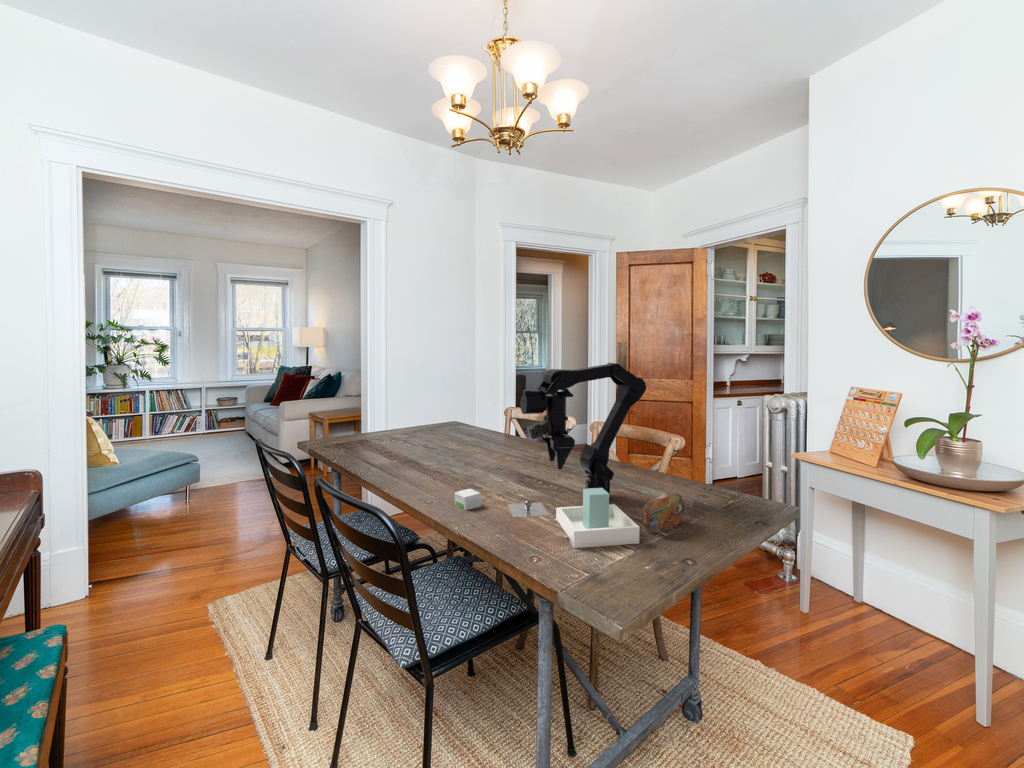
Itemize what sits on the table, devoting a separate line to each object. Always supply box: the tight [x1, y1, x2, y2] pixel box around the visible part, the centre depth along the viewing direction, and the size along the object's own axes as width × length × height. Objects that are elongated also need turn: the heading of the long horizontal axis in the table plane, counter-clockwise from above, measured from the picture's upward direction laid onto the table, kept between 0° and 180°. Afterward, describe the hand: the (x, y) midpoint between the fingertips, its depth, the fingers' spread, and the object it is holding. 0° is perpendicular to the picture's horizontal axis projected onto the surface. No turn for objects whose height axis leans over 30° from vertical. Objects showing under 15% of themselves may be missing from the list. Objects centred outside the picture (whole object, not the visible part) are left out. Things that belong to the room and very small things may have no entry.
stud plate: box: [507, 500, 550, 518], centre depth 136 cm, size 10×10×4 cm
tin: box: [642, 492, 685, 534], centre depth 125 cm, size 15×3×8 cm, turn 129°
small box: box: [454, 488, 482, 511], centre depth 139 cm, size 6×6×5 cm
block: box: [582, 488, 610, 529], centre depth 122 cm, size 5×5×10 cm
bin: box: [555, 503, 640, 549], centre depth 122 cm, size 16×16×4 cm
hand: (555, 464), depth 144 cm, fingers open, 9 cm apart
